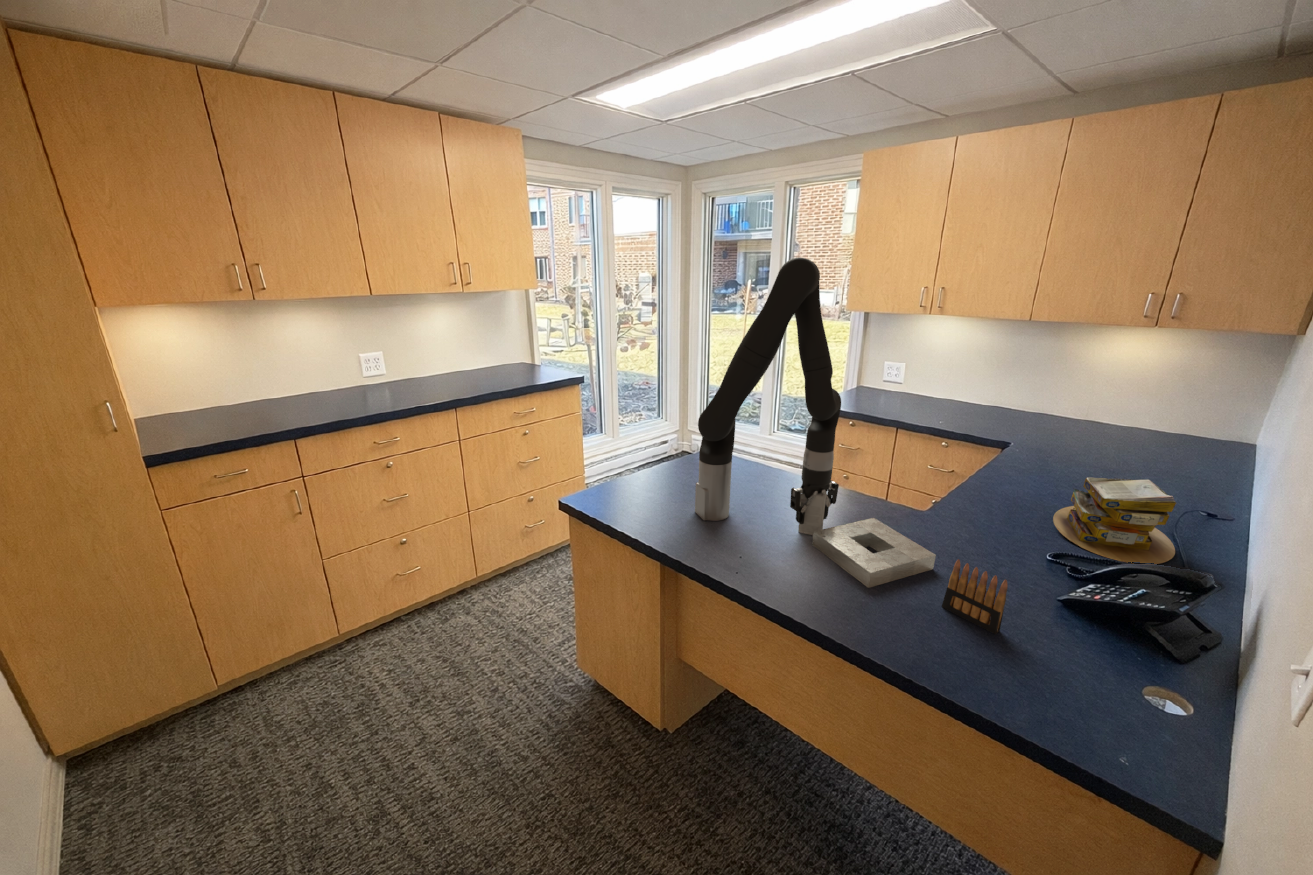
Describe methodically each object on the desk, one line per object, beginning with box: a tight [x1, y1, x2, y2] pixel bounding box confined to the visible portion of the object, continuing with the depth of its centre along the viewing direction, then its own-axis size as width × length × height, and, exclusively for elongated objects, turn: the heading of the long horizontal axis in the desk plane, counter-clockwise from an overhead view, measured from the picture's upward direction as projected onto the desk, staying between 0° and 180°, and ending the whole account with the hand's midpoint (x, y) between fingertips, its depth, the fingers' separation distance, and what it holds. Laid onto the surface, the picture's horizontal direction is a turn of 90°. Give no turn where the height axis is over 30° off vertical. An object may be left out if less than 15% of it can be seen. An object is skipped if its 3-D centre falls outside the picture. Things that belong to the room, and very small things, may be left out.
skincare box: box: [798, 491, 828, 536], centre depth 138 cm, size 6×4×12 cm
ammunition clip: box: [941, 559, 1009, 635], centre depth 104 cm, size 11×2×12 cm, turn 36°
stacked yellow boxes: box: [1052, 476, 1177, 565], centre depth 134 cm, size 25×25×17 cm
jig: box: [811, 517, 937, 589], centre depth 128 cm, size 20×20×4 cm
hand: (811, 520), depth 139 cm, fingers closed on skincare box, 7 cm apart
